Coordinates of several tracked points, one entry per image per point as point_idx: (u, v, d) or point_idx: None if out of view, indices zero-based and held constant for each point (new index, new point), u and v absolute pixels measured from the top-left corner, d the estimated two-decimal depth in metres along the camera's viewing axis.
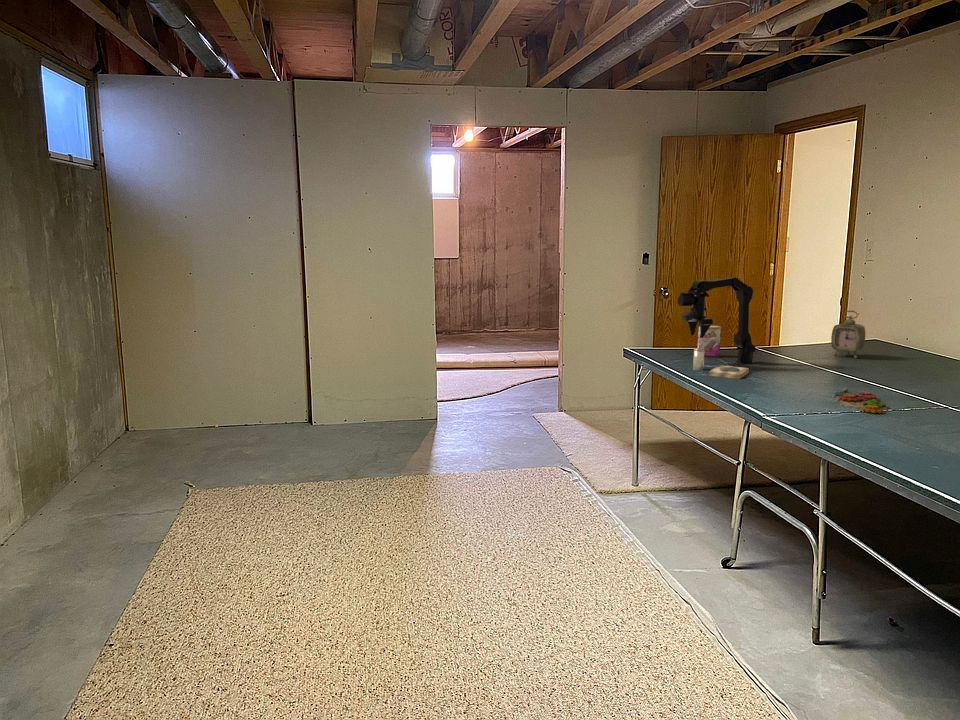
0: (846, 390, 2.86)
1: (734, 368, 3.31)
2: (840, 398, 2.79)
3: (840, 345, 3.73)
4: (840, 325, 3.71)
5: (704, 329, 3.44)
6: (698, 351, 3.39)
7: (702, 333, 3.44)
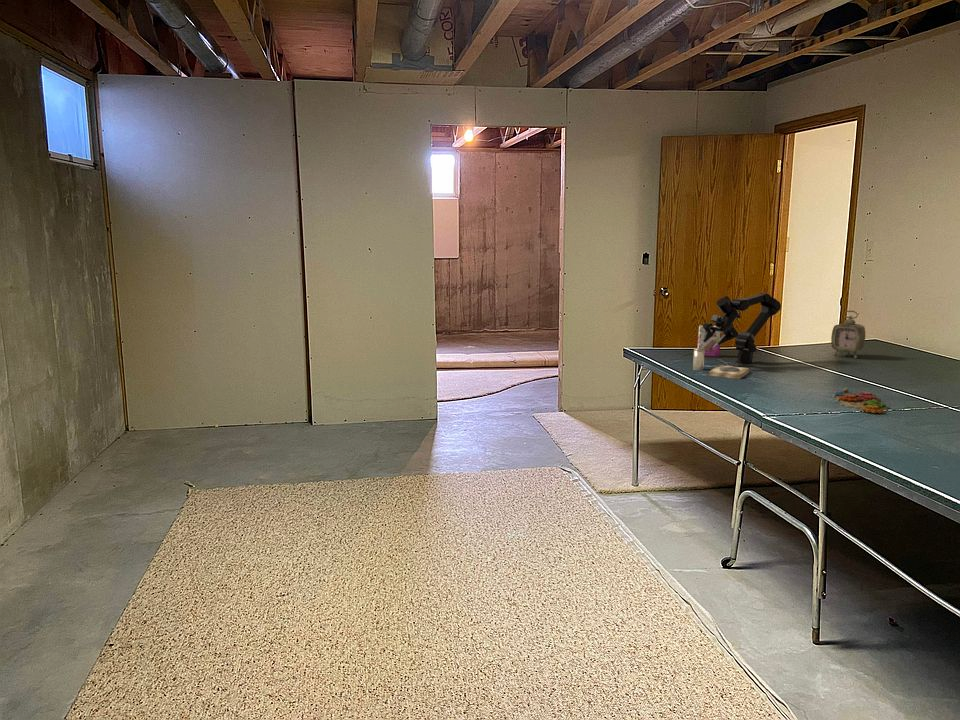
0: (846, 390, 2.86)
1: (734, 368, 3.31)
2: (840, 398, 2.79)
3: (840, 345, 3.73)
4: (840, 325, 3.71)
5: (725, 338, 3.41)
6: (698, 351, 3.39)
7: (722, 340, 3.40)
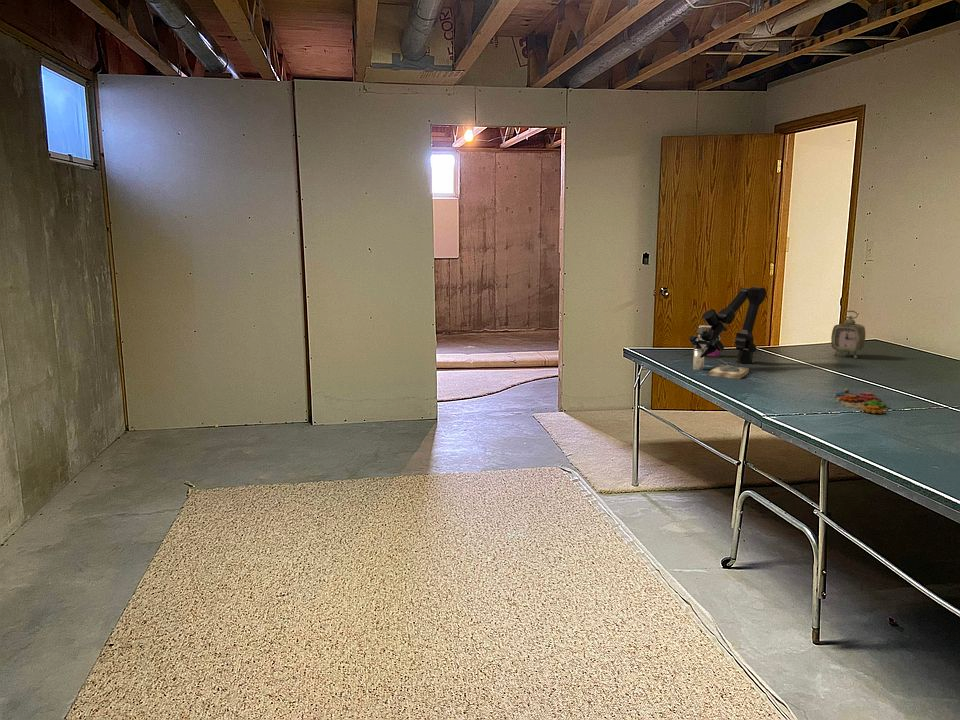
0: (847, 390, 2.85)
1: (734, 368, 3.31)
2: (841, 398, 2.78)
3: (840, 345, 3.73)
4: (840, 325, 3.71)
5: (708, 351, 3.39)
6: (698, 351, 3.39)
7: (704, 353, 3.38)
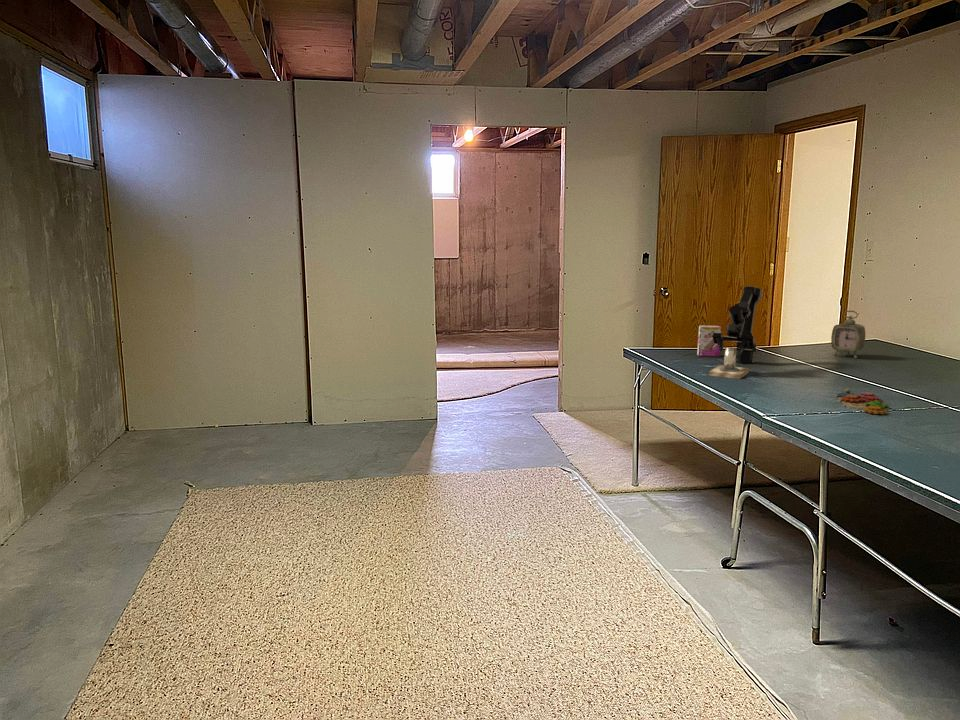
0: (848, 391, 2.84)
1: None
2: (842, 399, 2.77)
3: (840, 345, 3.73)
4: (840, 325, 3.71)
5: (743, 347, 3.28)
6: (732, 350, 3.27)
7: (741, 350, 3.26)
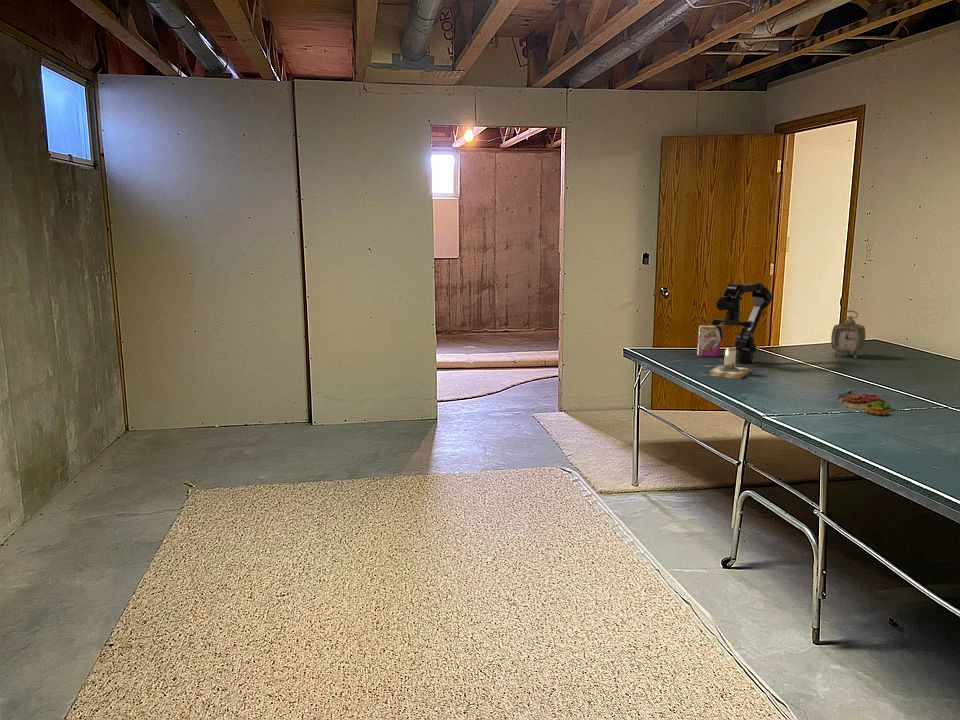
0: (850, 391, 2.83)
1: None
2: (844, 399, 2.76)
3: (840, 345, 3.73)
4: (840, 325, 3.71)
5: None
6: (732, 350, 3.27)
7: (743, 336, 3.45)
